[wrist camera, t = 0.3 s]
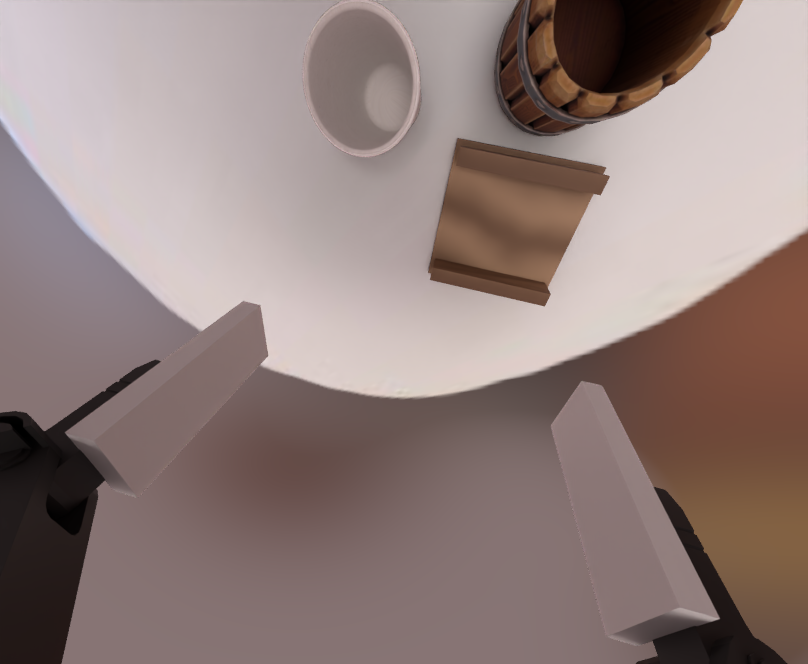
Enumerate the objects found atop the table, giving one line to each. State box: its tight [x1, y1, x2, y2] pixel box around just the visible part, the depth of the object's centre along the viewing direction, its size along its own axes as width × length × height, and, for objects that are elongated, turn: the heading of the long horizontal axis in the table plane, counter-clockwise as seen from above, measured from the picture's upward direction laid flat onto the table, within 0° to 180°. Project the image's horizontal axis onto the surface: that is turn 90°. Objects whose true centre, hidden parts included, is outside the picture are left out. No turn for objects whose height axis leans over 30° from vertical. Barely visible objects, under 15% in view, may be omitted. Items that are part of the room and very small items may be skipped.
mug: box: [495, 0, 743, 136], centre depth 18 cm, size 16×11×15 cm
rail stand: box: [428, 138, 610, 306], centre depth 31 cm, size 14×14×4 cm
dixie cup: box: [303, 0, 421, 157], centre depth 24 cm, size 8×8×10 cm
